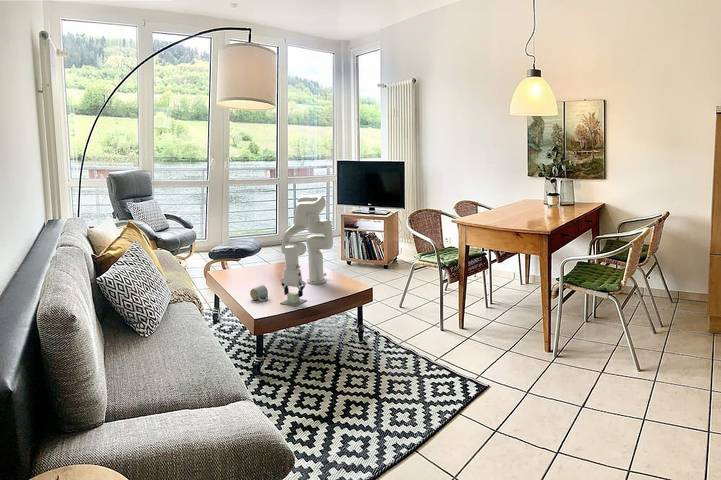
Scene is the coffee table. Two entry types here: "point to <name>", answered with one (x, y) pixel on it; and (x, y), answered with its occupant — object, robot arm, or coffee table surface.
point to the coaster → (293, 303)
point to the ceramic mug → (259, 293)
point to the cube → (293, 297)
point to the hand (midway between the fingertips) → (293, 295)
